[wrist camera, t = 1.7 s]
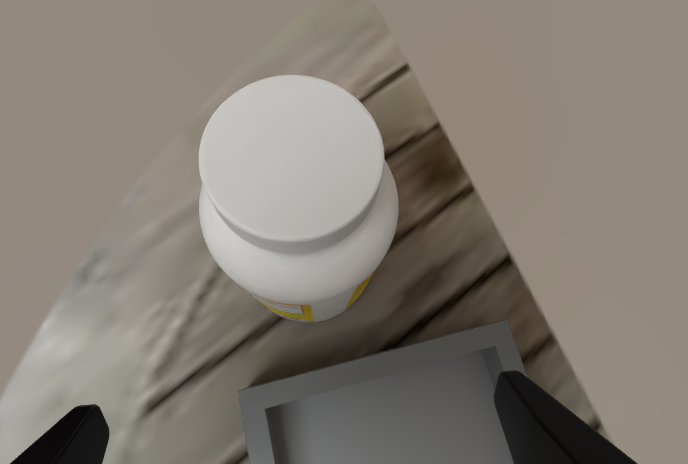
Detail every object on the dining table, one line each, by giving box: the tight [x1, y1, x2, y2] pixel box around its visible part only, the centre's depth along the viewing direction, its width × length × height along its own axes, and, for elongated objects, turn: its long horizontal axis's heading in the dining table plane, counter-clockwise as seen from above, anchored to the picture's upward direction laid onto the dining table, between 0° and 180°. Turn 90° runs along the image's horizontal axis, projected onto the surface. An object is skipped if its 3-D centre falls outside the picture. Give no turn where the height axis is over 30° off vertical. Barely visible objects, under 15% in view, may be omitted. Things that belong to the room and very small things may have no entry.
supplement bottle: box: [199, 75, 399, 323], centre depth 16 cm, size 7×7×13 cm
